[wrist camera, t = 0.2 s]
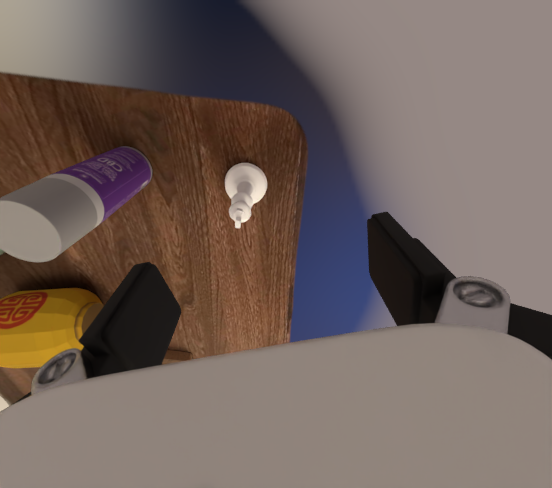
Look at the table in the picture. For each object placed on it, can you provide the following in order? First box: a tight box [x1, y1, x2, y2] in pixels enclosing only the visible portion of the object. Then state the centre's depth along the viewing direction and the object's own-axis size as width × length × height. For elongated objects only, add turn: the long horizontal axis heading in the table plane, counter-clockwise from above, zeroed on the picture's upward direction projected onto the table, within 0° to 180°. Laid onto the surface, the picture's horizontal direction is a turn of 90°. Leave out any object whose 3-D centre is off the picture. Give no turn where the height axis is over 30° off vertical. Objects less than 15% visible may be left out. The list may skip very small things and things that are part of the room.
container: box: [0, 146, 152, 262], centre depth 22 cm, size 5×5×15 cm
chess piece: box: [225, 163, 267, 228], centre depth 26 cm, size 5×5×10 cm
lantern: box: [0, 288, 105, 368], centre depth 34 cm, size 10×10×30 cm
